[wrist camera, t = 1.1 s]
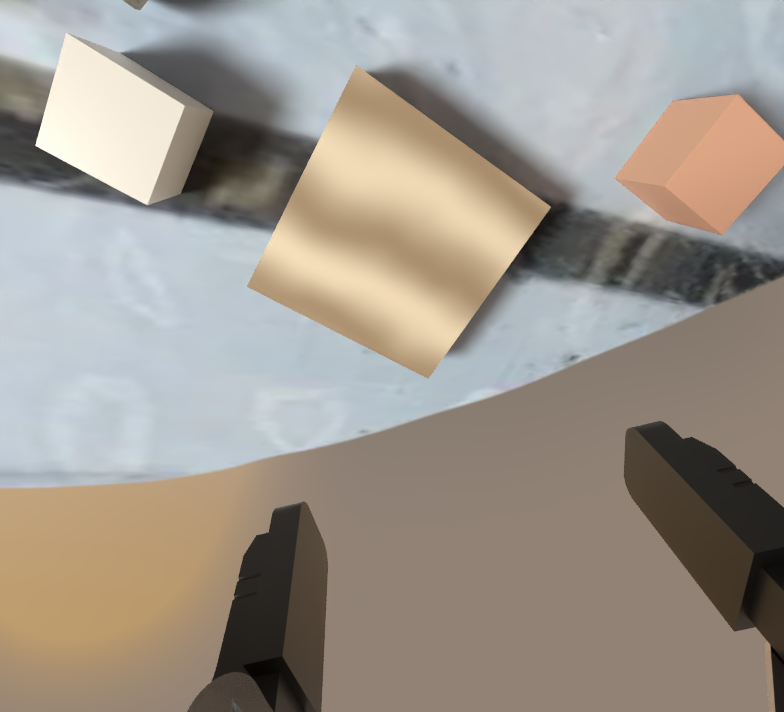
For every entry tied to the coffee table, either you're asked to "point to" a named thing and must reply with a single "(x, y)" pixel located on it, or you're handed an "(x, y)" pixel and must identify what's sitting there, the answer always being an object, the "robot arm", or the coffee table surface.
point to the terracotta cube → (704, 162)
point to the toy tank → (136, 3)
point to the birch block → (394, 230)
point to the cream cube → (121, 122)
